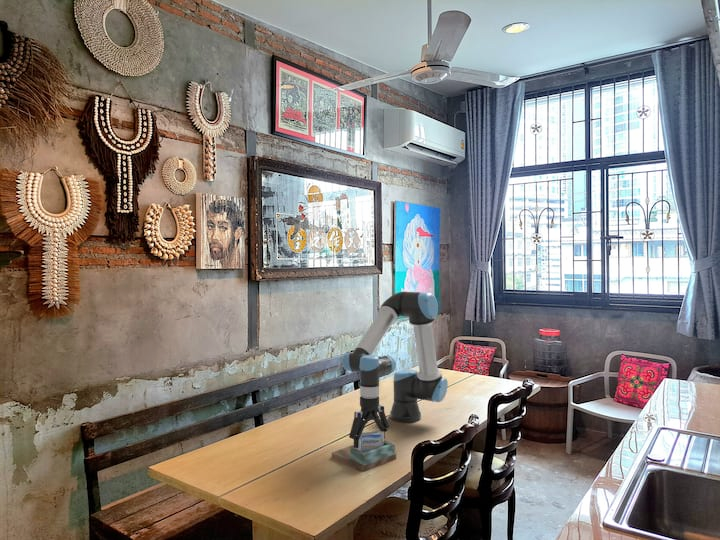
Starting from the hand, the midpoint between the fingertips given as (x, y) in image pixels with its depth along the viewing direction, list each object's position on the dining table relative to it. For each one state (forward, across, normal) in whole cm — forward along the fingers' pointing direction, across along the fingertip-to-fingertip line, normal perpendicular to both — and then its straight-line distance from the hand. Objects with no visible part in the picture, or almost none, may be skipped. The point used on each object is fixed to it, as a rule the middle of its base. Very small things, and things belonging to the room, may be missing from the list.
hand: (369, 451), depth 195 cm
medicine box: (+2, 0, 0) cm, 2 cm away
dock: (+4, 0, -3) cm, 5 cm away
